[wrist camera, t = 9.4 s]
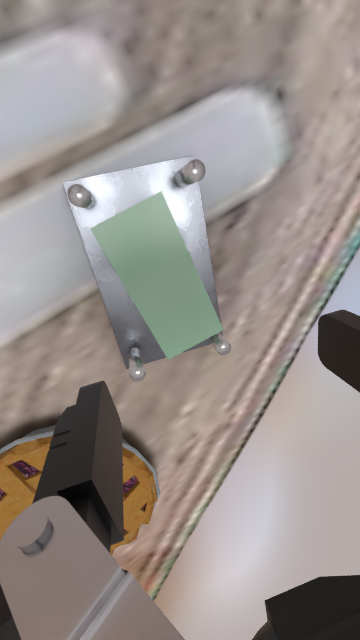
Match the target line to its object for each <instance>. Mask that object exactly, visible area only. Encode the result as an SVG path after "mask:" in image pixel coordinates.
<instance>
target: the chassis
mask: <svg viewBox="0 0 360 640" xmlns="http://www.w3.org/2000/svg"><path fill="white" fill-rule="evenodd" d="M204 175H205V167H204V164H203V163H202V162H201V161H200V160H197V159H195V156H194V155H193V156H188V157H184V158H179V159H174V160H169V161H164V162H159V163H154V164H149V165H145V166H140V167H135V168H130V169H125V170H120V171H115V172H110V173H106V174H101V175H96V176H91V177H86V178H81V179H76V180H71V181H67V182H62V183H63V186H64V189H65V192H66V195H67V198H68V201H69V203H70V206H71V209H72V212H73V215H74V218H75V221H76V224H77V226H78V229H79V232H80V235H81V238H82V241H83V244H84V247H85V249H86V252H87V255H88V258H89V261H90V264H91V267H92V270H93V272H94V275H95V278H96V281H97V284H98V287H99V290H100V293H101V295H102V298H103V301H104V304H105V307H106V310H107V313H108V316H109V318H110V321H111V324H112V327H113V330H114V333H115V336H116V339H117V341H118V344H119V347H120V350H121V353H122V356H123V359H124V362H125V364H126V367H127V369H129V371H130V378H131V379H132V380H134V381H140V380H142V379H143V378H144V377H145V368H144V364H145V363H149V362H152V361H155V360H159V359H162V358H165V357H166V355H165V354H164V352H163V350H162V349H161V347H160V345H159V344H158V342H157V340H156V339H155V337H154V335H153V334H152V332H151V330H150V329H149V327H148V325H147V324H146V322H145V320H144V319H143V317H142V315H141V314H140V312H139V310H138V309H137V307H136V305H135V304H134V302H133V300H132V299H131V297H130V295H129V294H128V292H127V290H126V288H125V287H124V285H123V283H122V282H121V280H120V278H119V277H118V275H117V273H116V272H115V270H114V268H113V267H112V265H111V263H110V262H109V260H108V258H107V257H106V255H105V253H104V252H103V250H102V248H101V247H100V245H99V243H98V242H97V240H96V238H95V237H94V235H93V233H92V232H91V230H90V228H92V227H94V226H96V225H98V224H100V223H101V222H103V221H105V220H107V219H109V218H111V217H113V216H115V215H117V214H119V213H121V212H122V211H124V210H126V209H128V208H130V207H132V206H134V205H136V204H138V203H140V202H141V201H143V200H145V199H147V198H149V197H151V196H153V195H155V194H157V193H159V192H160V191H162V194H163V196H164V198H165V200H166V202H167V205H168V207H169V209H170V211H171V214H172V216H173V218H174V220H175V223H176V225H177V227H178V229H179V232H180V234H181V236H182V238H183V240H184V243H185V245H186V247H187V249H188V252H189V254H190V256H191V258H192V261H193V263H194V265H195V267H196V269H197V272H198V274H199V276H200V278H201V281H202V283H203V285H204V287H205V290H206V292H207V294H208V296H209V298H210V301H211V303H212V305H213V307H214V310H215V312H216V314H217V316H218V319H219V321H220V315H219V308H218V302H217V296H216V289H215V283H214V276H213V270H212V264H211V257H210V251H209V245H208V238H207V232H206V226H205V219H204V213H203V207H202V200H201V194H200V187H199V181H200V180H201V179H202V178H203V177H204ZM220 323H221V321H220ZM209 344H212V345H213V347H214V348H215V349H216V351H217V352H218V353H219V354H220V355H225V354H227V353H229V351H230V350H231V345H230V344H229V342H228V341H227V340H226V339H225V338H224V337H223V334H222V331H220V332H219V333H217V334H215V335H213V336H211V337H209V338H207V339H206V340H204V341H202V342H200V343H198V344H196V345H195V346H193V347H191V348H189V349H187V350H185V351H183V352H186V351H189V350H192V349H196V348H199V347H202V346H206V345H209Z"/></svg>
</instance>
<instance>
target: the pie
mask: <svg viewBox="0 0 360 640" xmlns="http://www.w3.org/2000/svg"><path fill="white" fill-rule="evenodd" d="M55 426H56V425H52V426H48V427H44V428H40V429H36V430H34V431H32V432H30V433H29V434H27V435H25V436H24V437H22V438H20V439H17V440H15V441H13V442H12V443H10V444H8V445H7V446H5V447H3V448H1V449H0V541H1V538H2V537H3V535H4V533H5V532H6V530H7V529H8V527H9V526H10V524H11V523H12V522H13V521H14V520H15V519H16V517H17V516H18V515H19V514H21V513H22V512H23V511H24V510H25V509H26V508H27V507H29V506H30V505H32V503H33V500H34V496H35V493H36V490H37V486H38V483H39V480H40V476H41V473H42V470H43V466H44V463H45V460H46V456H47V453H48V451H49V446H50V443H51V440H52V438H53V433H54V430H55ZM122 451H123V514H124V541H121V542H119V543H116V544H113V545H111V548H110V554H111V555H112V554H113V551H114V549H115V548H117V547H118V546H120V545H124V544H129V543H131V542H132V541H134V540H135V539H136V538H137V535H138V531H139V528H140V527H141V526H142V525H143V524H149V521H150V518H151V515H152V512H153V509H154V507H155V504H156V502H157V500H158V497H159V495H160V490H159V485H158V480H157V475H156V470H155V469H154V468H153V467H152V466H151V465H150V464H149V462H148V461H147V460H146V459H145V458H144V457H143V456H142V455H141V454H140V453H139V452H138V451H137V450H136V449H135V448H133V447H131V446H130V444H129V443H128V442H127V441H126V440H125V439H124V438H122Z"/></svg>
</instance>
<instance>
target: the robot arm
mask: <svg viewBox="0 0 360 640" xmlns="http://www.w3.org/2000/svg"><path fill="white" fill-rule="evenodd" d="M318 355H319V358H320V360H321V362H322V364H323V365H324V366H325V367H326V368H327V369H329V370H330V371H331V372H333V373H334V374H336V375H337V376H338V377H340V378H341V379H342V380H344V381H345V382H346V383H348V384H349V385H350V386H352V387H353V388H355V389H356V390H357V391H359V392H360V316H358V315H356V314H353V313H351V312H348V311H346V310H339V311H335V312H332V313H329V314H325V315H322V316H321V317H320V318H319V322H318ZM121 541H124V514H123V451H122V427H121V422H120V418H119V415H118V412H117V410H116V407H115V405H114V403H113V400H112V398H111V395H110V393H109V390H108V388H107V385H106V383H105V382H104V381H100V382H97V383H93V384H90V385H87V386H83V387H81V388H80V390H79V394H78V398H77V403H76V405H74V406H70V407H67V408H66V410H65V411H64V412H63V414H62V415H61V417H60V418H59V419H58V421H57V423H56V426H55V430H54V433H53V438H52V440H51V443H50V446H49V451H48V453H47V456H46V460H45V463H44V466H43V470H42V473H41V476H40V480H39V483H38V486H37V490H36V493H35V496H34V500H33V503H32V505H30V506H29V507H27V508H26V509H25V510H24V511H23V512H22V513H21V514H19V515H18V516H17V517H16V519H15V520H14V521H13V522H12V523H11V524H10V526H9V527H8V529H7V530H6V532H5V533H4V535H3V537H2V538H1V541H0V640H185V639H184V638H183V637H182V636H181V634H180V633H179V632H178V631H177V630H176V628H175V627H174V626H173V625H172V624H171V622H170V621H169V620H168V619H167V617H166V616H165V615H164V614H163V612H162V611H161V610H160V609H159V608H158V606H157V605H156V604H155V603H154V601H153V600H152V599H151V598H150V597H149V595H148V594H147V593H146V592H145V590H144V589H143V588H142V587H141V586H140V584H139V583H138V582H137V581H136V580H135V579H134V577H133V576H132V575H131V574H130V573H129V572H128V571H127V570H125V571H124V570H123V569H122V568H121V566H120V565H119V564H118V563H117V562H116V560H115V559H114V558H113V557H112V555H111V554H110V548H111V545H113V544H116V543H119V542H121ZM265 606H266V612H267V619H268V621H267V623H265V625H263V626H262V628H261V629H260V630H259V631H258V632H257V633H256V635H255V636H254V638H253V639H252V640H360V575H352V576H328V577H318V578H316V579H314V580H311V581H309V582H307V583H304V584H302V585H300V586H297V587H295V588H293V589H290V590H288V591H286V592H283V593H281V594H279V595H277V596H274V597H272V598H270V599H267V600H265Z"/></svg>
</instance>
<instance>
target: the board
mask: <svg viewBox="0 0 360 640" xmlns="http://www.w3.org/2000/svg"><path fill="white" fill-rule="evenodd" d="M90 230H91V232H92V233H93V235H94V237H95V238H96V240H97V242H98V243H99V245H100V247H101V248H102V250H103V252H104V253H105V255H106V257H107V258H108V260H109V262H110V263H111V265H112V267H113V268H114V270H115V272H116V273H117V275H118V277H119V278H120V280H121V282H122V283H123V285H124V287H125V288H126V290H127V292H128V294H129V295H130V297H131V299H132V300H133V302H134V304H135V305H136V307H137V309H138V310H139V312H140V314H141V315H142V317H143V319H144V320H145V322H146V324H147V325H148V327H149V329H150V330H151V332H152V334H153V335H154V337H155V339H156V340H157V342H158V344H159V345H160V347H161V349H162V350H163V352H164V354H165V355H166V357H167V359H168V360H169V359H171V358H172V357H174V356H176V355H178V354H180V353H182V352H183V351H185V350H187V349H189V348H191V347H193V346H195V345H196V344H198V343H200V342H202V341H204V340H206V339H207V338H209V337H211V336H213V335H215V334H217V333H219V332H220V331H222V330H223V327H222V325H221V323H220V321H219V319H218V316H217V314H216V312H215V310H214V307H213V305H212V303H211V301H210V298H209V296H208V294H207V292H206V290H205V287H204V285H203V283H202V281H201V278H200V276H199V274H198V272H197V269H196V267H195V265H194V263H193V261H192V258H191V256H190V254H189V252H188V249H187V247H186V245H185V243H184V240H183V238H182V236H181V234H180V232H179V229H178V227H177V225H176V223H175V220H174V218H173V216H172V214H171V211H170V209H169V207H168V205H167V202H166V200H165V198H164V196H163V194H162V191H160V192H159V193H157V194H155V195H153V196H151V197H149V198H147V199H145V200H143V201H141V202H140V203H138V204H136V205H134V206H132V207H130V208H128V209H126V210H124V211H122V212H121V213H119V214H117V215H115V216H113V217H111V218H109V219H107V220H105V221H103V222H101V223H100V224H98V225H96V226H94V227H92V228H90Z"/></svg>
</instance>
